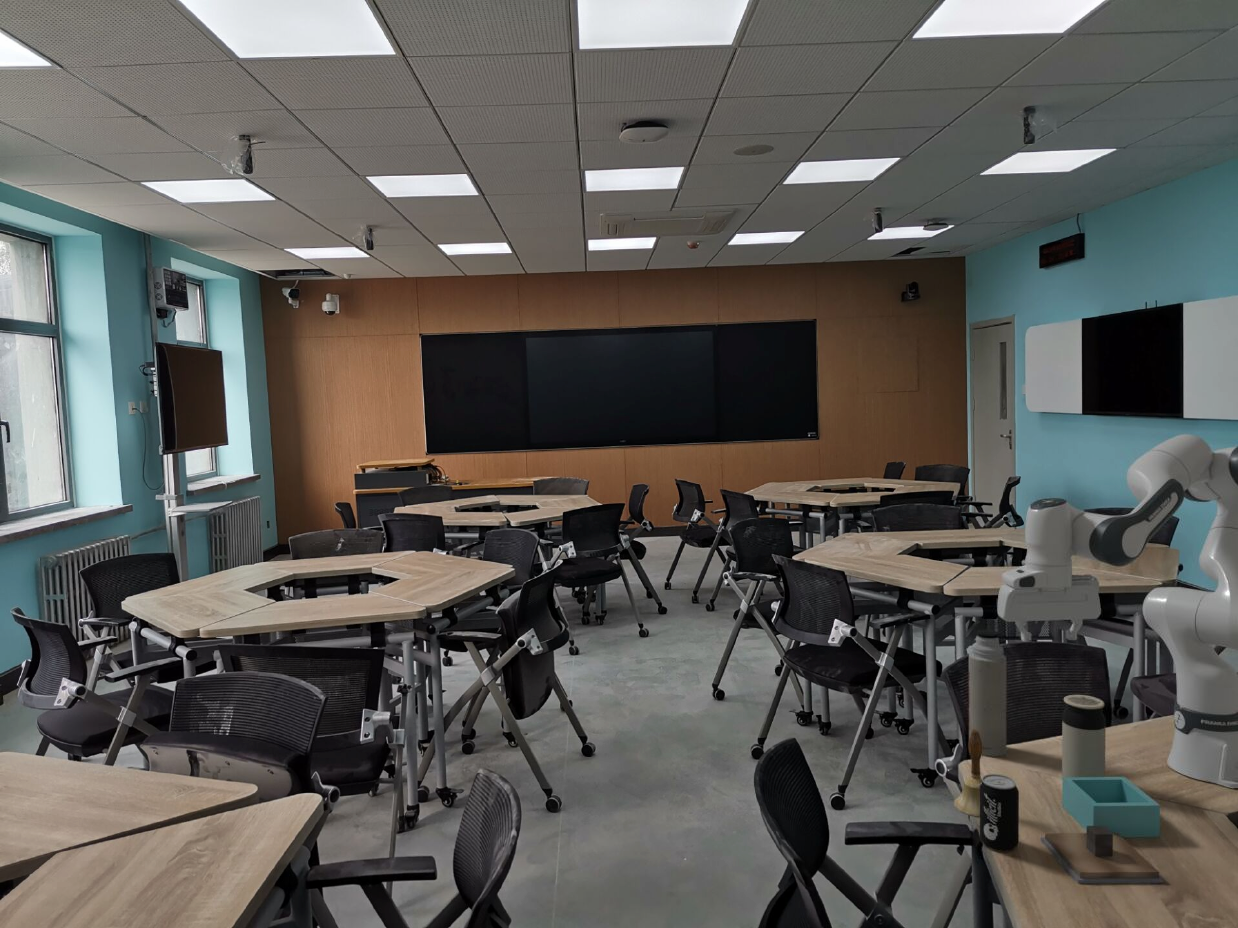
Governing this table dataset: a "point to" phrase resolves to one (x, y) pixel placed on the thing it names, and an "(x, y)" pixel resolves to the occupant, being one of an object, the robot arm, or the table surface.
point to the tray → (1097, 880)
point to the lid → (1100, 854)
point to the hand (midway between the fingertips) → (1048, 639)
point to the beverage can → (999, 812)
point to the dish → (1111, 805)
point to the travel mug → (1083, 737)
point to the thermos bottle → (988, 692)
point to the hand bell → (972, 780)
